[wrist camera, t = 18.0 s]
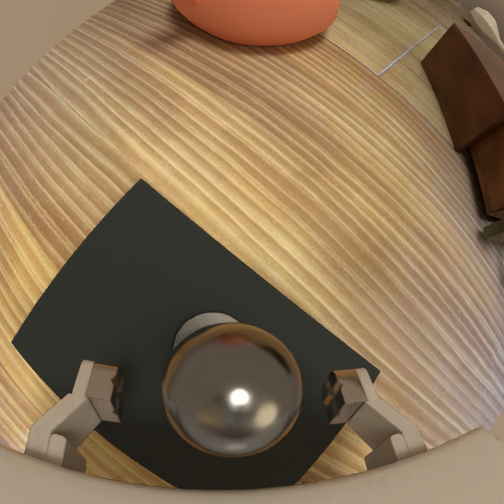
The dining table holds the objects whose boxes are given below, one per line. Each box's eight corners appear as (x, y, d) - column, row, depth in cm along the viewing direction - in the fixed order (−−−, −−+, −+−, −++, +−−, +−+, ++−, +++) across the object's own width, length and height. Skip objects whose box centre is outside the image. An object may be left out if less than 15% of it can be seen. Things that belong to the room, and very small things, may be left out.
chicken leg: (508, 71, 42) (526, 59, 36) (466, 15, 39) (485, 2, 32) (499, 68, 47) (515, 56, 41) (460, 17, 44) (477, 4, 38)
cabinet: (516, 181, 27) (558, 157, 19) (455, 151, 25) (508, 112, 16) (485, 99, 30) (516, 72, 22) (420, 62, 28) (453, 22, 20)
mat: (376, 370, 18) (381, 371, 17) (252, 520, 14) (253, 524, 13) (142, 182, 18) (140, 177, 17) (15, 342, 14) (10, 342, 14)
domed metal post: (250, 388, 16) (338, 487, 5) (172, 385, 15) (132, 494, 4) (252, 313, 17) (352, 299, 6) (174, 309, 16) (126, 287, 5)
